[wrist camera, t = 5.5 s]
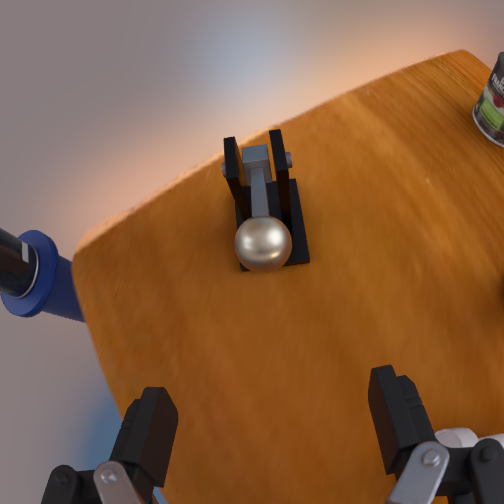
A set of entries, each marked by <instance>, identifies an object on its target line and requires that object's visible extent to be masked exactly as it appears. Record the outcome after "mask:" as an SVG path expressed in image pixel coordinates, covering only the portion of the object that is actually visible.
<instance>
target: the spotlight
mask: <svg viewBox="0 0 504 504" xmlns="http://www.w3.org/2000/svg"><path fill="white" fill-rule="evenodd" d="M435 436H436V438H437V440H438V441H439V442H440V443H441V444H443V445H445V446H447V447H451V448H462V447H474V445H475V444H476V443H477V442H478V441H480V440H482V439H485V438H492V439H495V440H497V441H499V442H500V443H501V445H502V446H503V448H504V434H502V433H500V434H495V435H490V436H485V437H480V438H477V436H476V435H475V434H474V433H473V432H472V431H471V430H470V429H468V428H464V427H458V428H448V429H443V430H440V431H437V432H436V433H435Z"/></svg>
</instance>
